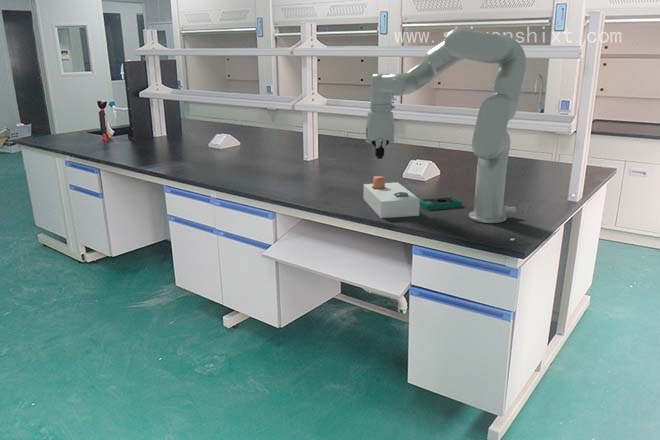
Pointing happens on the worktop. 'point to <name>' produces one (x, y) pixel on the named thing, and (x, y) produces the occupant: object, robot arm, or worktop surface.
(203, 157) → the worktop surface
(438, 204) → the digital multimeter
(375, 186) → the orange rounded cylinder
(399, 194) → the charcoal plunger
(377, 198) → the panel
